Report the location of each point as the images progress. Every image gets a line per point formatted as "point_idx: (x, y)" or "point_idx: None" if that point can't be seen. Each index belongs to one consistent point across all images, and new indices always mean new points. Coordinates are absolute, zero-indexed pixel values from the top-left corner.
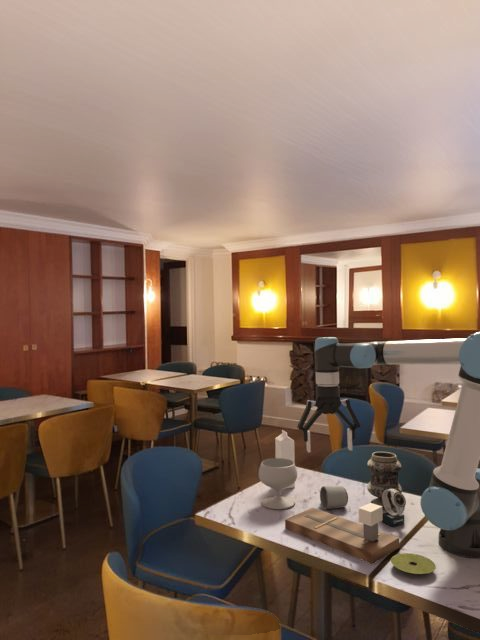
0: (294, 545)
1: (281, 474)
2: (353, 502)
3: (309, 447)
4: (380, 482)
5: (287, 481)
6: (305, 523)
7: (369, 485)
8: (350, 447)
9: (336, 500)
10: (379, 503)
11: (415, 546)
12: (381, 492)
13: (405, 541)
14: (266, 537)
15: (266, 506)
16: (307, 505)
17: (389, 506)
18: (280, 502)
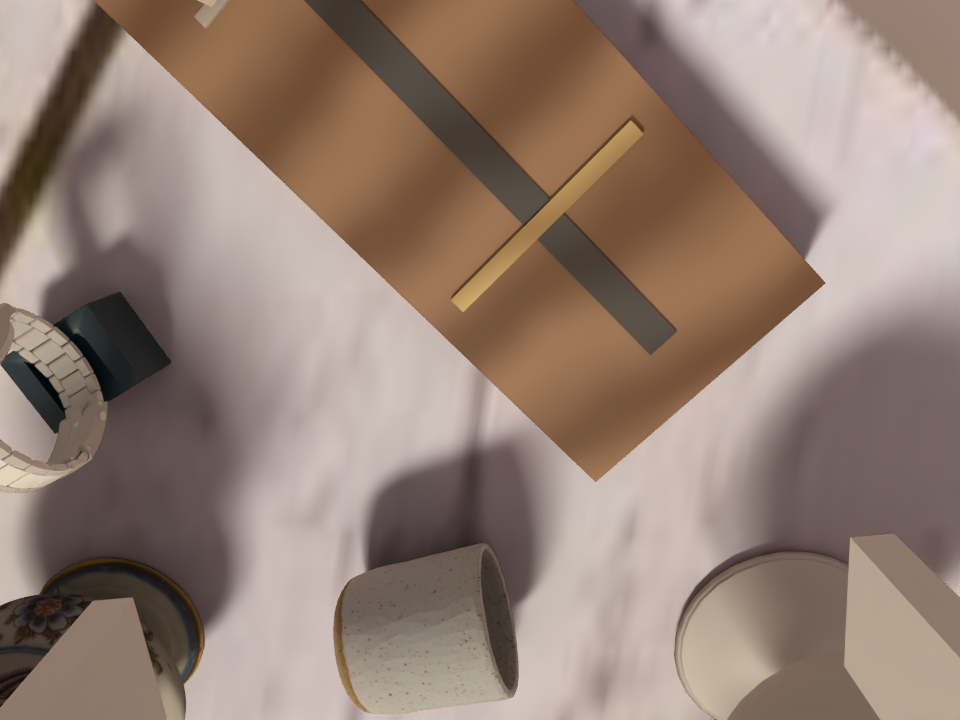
0: (781, 13)
1: None
2: (306, 658)
3: (920, 590)
4: None
5: (811, 673)
6: (692, 210)
7: None
8: (95, 634)
9: (420, 568)
10: (147, 606)
11: (7, 18)
12: None
13: (60, 92)
14: (947, 135)
15: None
16: (597, 618)
17: (68, 424)
18: (780, 621)
